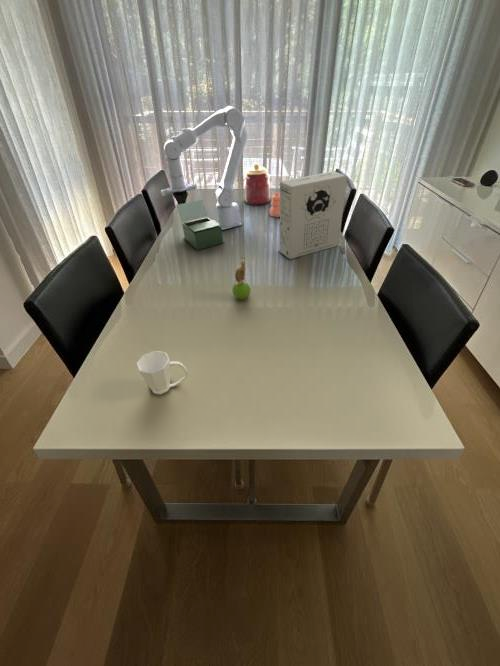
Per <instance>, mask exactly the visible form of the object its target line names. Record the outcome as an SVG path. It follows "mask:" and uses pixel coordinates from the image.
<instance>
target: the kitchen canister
mask: <svg viewBox="0 0 500 666" xmlns="http://www.w3.org/2000/svg"><path fill="white" fill-rule="evenodd" d="M244 172H245V175H244V176H243V180H244V183H243V185H244V186H243V187H244V200H245V202H246V204H248V205H254V206H255V205H256V206H257V205H264V204H268V203H269V202H270V201H271V182H270V178H271V174H269V173H268V172H269V169H268V168H266V167H265V166H260V164H259V163H257V162H256V163H254V164H253V166H251V167H248V168H247V169H246V170H245V171H244Z"/></svg>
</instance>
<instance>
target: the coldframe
mask: <svg viewBox="0 0 500 666" xmlns="http://www.w3.org/2000/svg"><path fill="white" fill-rule="evenodd" d="M196 223H200V224H196ZM181 224H182V230H183V236H184V240H185V241H187V243H189V244H190V245H191V246H192V247H193V248H194V249H195V250H196V251H198V250H202V249H206V248H209V247H213V246H216V245H220V244H223V243H224V240H223V232H222V231H223V230H222V229H221V225H220V224H219V223H218V221H216V220H215V219H211V218H209V216H205V217H201V218H197V219H193V220H188V221H184V222H182V223H181ZM194 224H196V225H194ZM203 230H205V231H203ZM199 231H201V232H199ZM195 232H197V233H195Z"/></svg>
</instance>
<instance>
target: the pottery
mask: <svg viewBox="0 0 500 666" xmlns="http://www.w3.org/2000/svg"><path fill="white" fill-rule="evenodd" d="M270 204H271V207H270V208H269V215H270V217H273V218H280V191H279V192H278V191H276V192H275V193H274V194H273V195H272V196H271V202H270Z"/></svg>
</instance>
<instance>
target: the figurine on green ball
mask: <svg viewBox="0 0 500 666" xmlns="http://www.w3.org/2000/svg"><path fill="white" fill-rule="evenodd" d="M240 258H241V262H240V265H241V266H238V267H237V268H236V270H235V275H234V276H235V277H234V278H235V281H236V282H235V283H234V284H233V286H232V289H231V290H232V294H233V296H234V297H235V298H236V299H237V300H245V299H247V298H248V297H249V296H250V294H251V285H250V284H249V283H248V282H246V281H245V278H246V256H241V257H240Z"/></svg>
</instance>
